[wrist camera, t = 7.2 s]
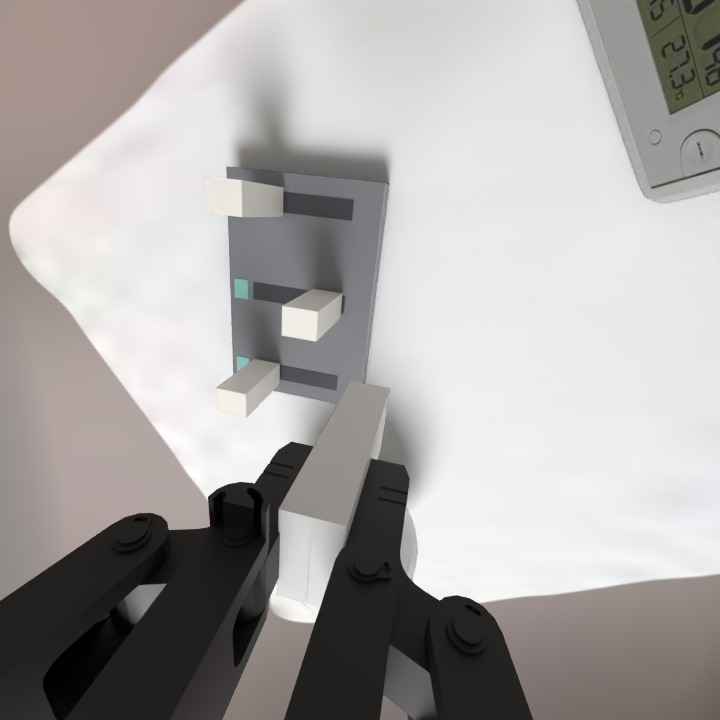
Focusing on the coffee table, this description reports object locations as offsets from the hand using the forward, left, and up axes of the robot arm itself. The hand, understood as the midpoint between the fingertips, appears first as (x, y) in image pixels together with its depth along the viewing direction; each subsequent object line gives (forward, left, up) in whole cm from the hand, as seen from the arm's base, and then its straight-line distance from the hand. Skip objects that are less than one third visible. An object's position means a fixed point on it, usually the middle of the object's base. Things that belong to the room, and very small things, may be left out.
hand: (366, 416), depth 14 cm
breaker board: (+9, 0, -18) cm, 20 cm away
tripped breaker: (+6, 0, -15) cm, 17 cm away
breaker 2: (+11, +7, -15) cm, 20 cm away
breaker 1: (+11, -7, -15) cm, 20 cm away
